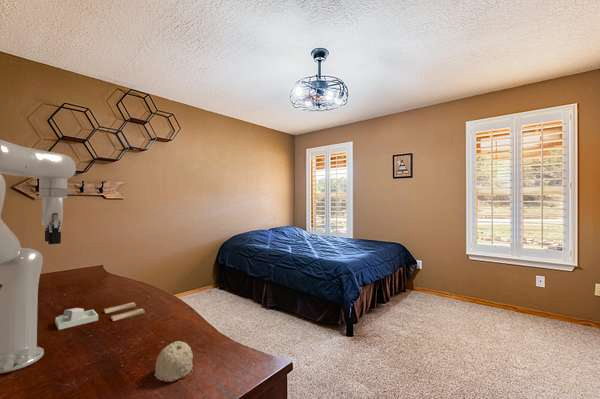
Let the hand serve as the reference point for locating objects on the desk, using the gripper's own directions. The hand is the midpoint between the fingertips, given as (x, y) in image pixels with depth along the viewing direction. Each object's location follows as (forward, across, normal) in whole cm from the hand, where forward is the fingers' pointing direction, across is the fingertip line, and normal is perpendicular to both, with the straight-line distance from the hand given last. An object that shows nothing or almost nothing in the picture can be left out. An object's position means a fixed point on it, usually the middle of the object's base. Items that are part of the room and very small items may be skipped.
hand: (52, 242), depth 102 cm
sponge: (+31, +57, +19) cm, 67 cm away
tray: (+30, -1, +8) cm, 31 cm away
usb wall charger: (+29, 0, +5) cm, 30 cm away
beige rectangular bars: (+30, +1, +22) cm, 38 cm away
